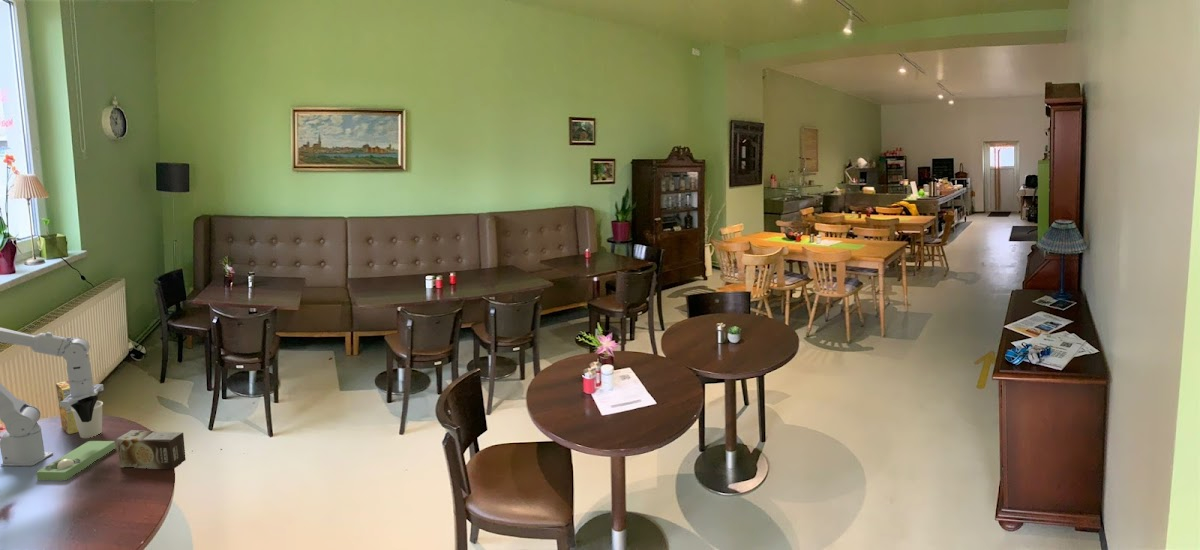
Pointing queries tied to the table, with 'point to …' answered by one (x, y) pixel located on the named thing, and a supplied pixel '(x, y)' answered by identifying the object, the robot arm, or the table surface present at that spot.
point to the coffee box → (151, 449)
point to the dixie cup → (90, 422)
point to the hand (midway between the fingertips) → (86, 421)
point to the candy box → (66, 413)
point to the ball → (65, 463)
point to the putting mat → (76, 460)
